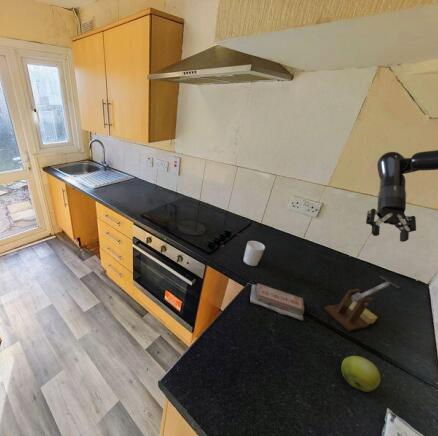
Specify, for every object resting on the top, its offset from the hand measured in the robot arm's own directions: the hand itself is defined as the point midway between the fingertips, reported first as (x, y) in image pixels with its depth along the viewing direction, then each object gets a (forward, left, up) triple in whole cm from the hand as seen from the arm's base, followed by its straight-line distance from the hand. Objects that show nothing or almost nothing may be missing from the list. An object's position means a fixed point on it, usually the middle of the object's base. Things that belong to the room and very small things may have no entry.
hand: (389, 238), depth 86 cm
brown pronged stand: (+19, +10, -27) cm, 35 cm away
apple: (+39, +28, -27) cm, 55 cm away
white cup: (+34, -26, -27) cm, 51 cm away
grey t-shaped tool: (+13, +10, -15) cm, 23 cm away
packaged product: (+41, -1, -27) cm, 49 cm away
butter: (+12, +10, -27) cm, 31 cm away
